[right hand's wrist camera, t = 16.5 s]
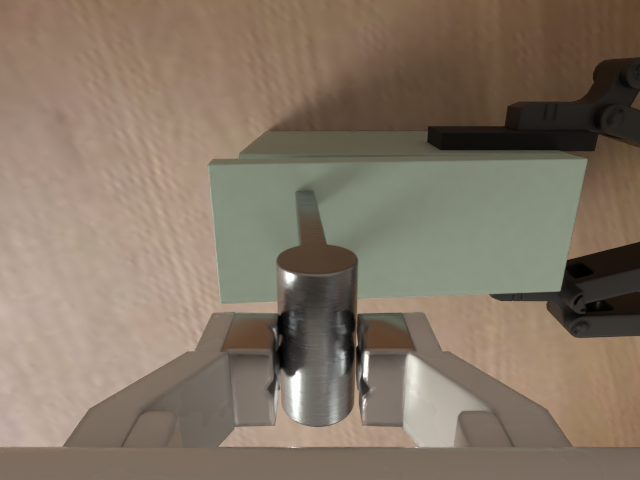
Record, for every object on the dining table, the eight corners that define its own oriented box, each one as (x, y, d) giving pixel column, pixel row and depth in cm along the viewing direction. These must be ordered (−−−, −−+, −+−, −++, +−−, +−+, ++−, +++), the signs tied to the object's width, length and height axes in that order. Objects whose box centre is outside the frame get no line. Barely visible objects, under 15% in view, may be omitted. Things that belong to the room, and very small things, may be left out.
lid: (223, 291, 19) (172, 465, 10) (212, 158, 17) (137, 238, 8) (545, 280, 20) (742, 431, 11) (570, 153, 18) (830, 220, 9)
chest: (269, 221, 28) (246, 278, 20) (265, 130, 26) (237, 153, 18) (482, 221, 28) (546, 280, 20) (494, 130, 26) (570, 153, 18)
